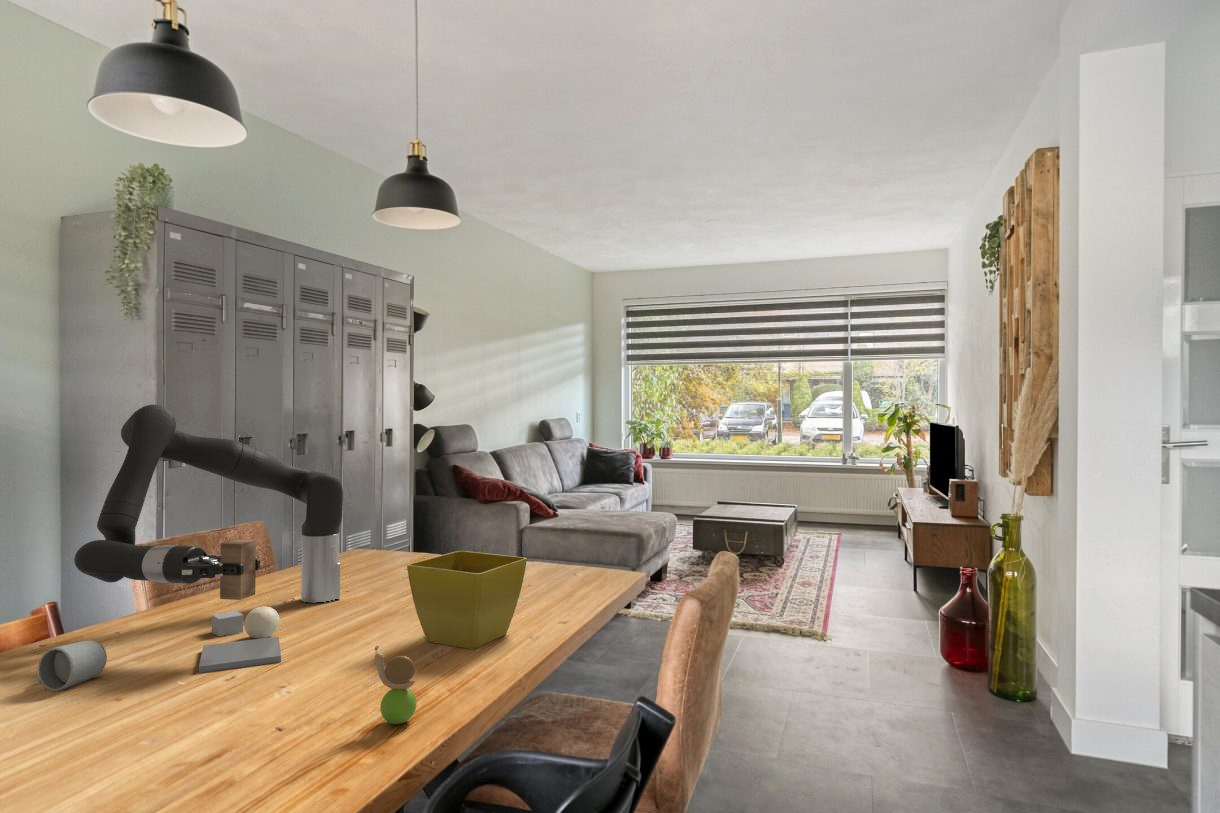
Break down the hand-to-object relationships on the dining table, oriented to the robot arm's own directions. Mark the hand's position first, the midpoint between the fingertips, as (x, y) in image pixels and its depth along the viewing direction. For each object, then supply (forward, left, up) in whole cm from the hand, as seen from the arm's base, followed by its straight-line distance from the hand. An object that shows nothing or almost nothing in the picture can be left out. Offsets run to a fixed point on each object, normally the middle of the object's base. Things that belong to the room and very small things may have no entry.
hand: (250, 567), depth 145 cm
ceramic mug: (+29, +1, -18) cm, 35 cm away
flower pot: (-43, +7, -18) cm, 47 cm away
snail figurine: (-21, +45, -18) cm, 53 cm away
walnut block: (+2, -2, -6) cm, 7 cm away
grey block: (+4, -21, -18) cm, 28 cm away
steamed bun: (-3, -13, -18) cm, 22 cm away
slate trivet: (+1, -1, -18) cm, 18 cm away
